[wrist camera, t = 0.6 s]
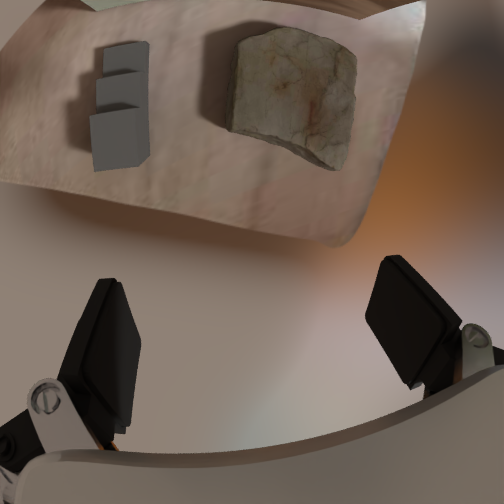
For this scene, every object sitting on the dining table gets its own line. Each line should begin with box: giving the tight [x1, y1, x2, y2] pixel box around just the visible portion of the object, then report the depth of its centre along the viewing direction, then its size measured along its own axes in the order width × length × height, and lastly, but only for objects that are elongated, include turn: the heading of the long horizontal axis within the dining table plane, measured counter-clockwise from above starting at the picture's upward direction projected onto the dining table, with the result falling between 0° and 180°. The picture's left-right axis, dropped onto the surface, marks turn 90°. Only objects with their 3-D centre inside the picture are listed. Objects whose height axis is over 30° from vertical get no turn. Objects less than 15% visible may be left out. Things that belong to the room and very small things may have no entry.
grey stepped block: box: [89, 41, 150, 172], centre depth 23 cm, size 14×5×6 cm, turn 178°
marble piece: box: [225, 27, 357, 171], centre depth 27 cm, size 17×15×4 cm
